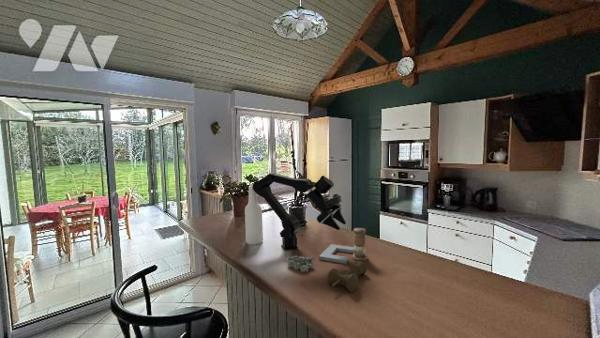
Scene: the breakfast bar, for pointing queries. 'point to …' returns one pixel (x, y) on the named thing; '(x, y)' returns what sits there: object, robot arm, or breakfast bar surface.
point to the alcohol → (253, 219)
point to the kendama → (347, 276)
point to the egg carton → (296, 261)
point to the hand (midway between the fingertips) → (342, 226)
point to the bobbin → (359, 245)
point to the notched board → (330, 256)
